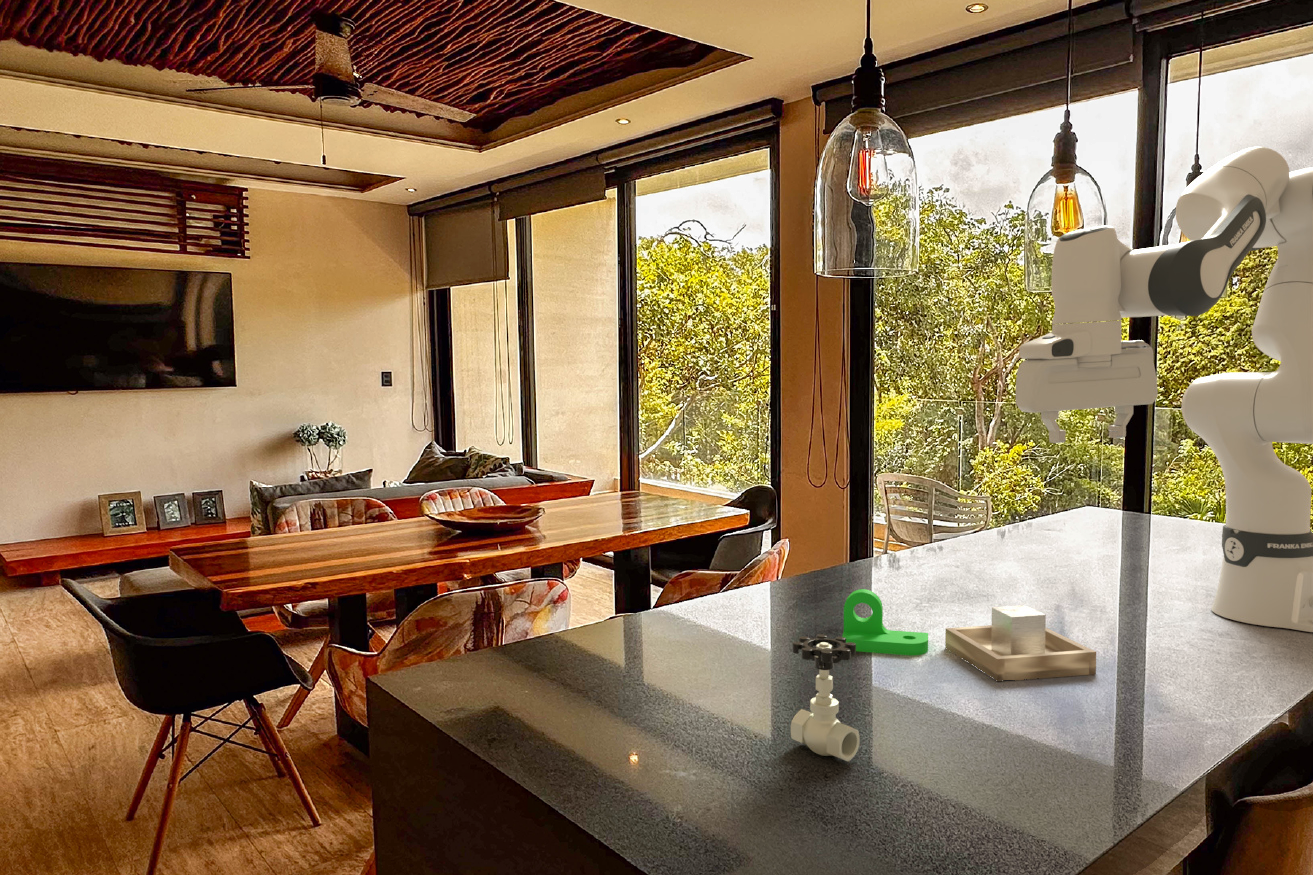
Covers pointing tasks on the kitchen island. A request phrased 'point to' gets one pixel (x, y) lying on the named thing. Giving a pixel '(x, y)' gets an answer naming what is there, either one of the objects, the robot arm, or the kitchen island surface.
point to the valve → (824, 701)
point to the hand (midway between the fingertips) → (1087, 440)
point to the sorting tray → (1055, 662)
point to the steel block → (1017, 630)
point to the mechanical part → (878, 629)
